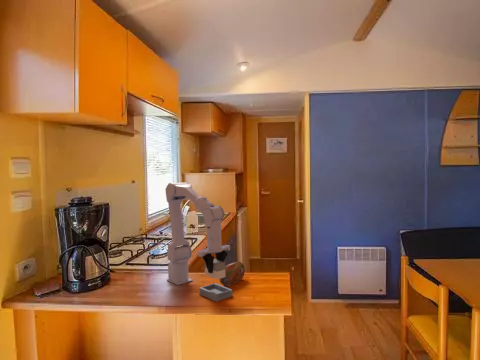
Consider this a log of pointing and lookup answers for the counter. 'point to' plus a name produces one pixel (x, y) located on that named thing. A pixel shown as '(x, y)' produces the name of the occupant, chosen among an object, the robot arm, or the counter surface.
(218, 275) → the block
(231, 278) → the tin
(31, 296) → the counter surface
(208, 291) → the grey rectangular tray
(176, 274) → the robot arm
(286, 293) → the counter surface
